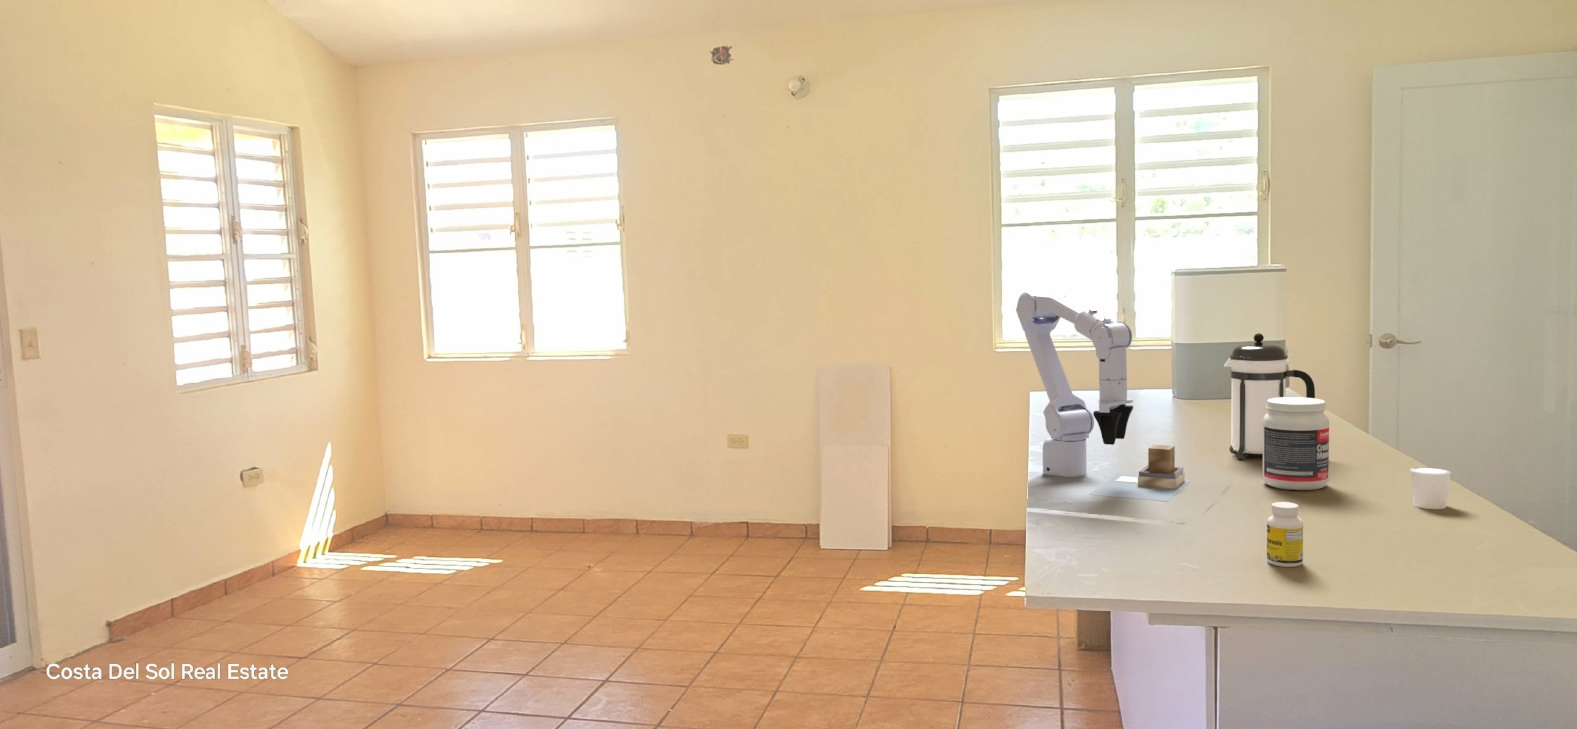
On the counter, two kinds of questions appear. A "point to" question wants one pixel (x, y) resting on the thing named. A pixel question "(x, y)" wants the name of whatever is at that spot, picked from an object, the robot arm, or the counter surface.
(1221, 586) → the counter surface
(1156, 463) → the walnut block
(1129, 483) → the board
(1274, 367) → the coffee press
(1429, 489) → the white cup
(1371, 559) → the counter surface
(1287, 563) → the supplement bottle
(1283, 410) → the supplement tub
